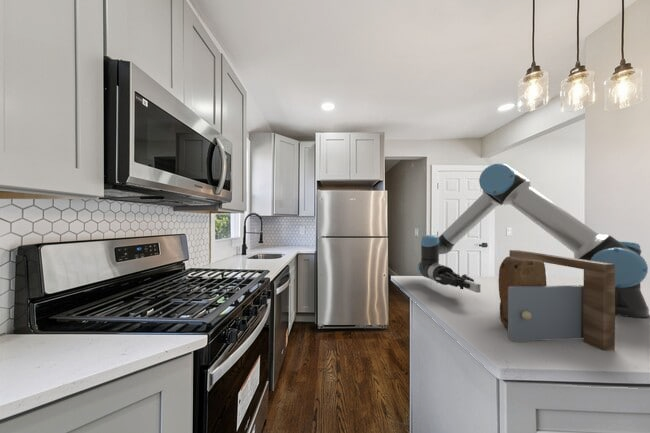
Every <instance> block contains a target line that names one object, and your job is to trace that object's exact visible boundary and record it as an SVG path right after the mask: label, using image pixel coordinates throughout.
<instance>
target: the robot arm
mask: <svg viewBox="0 0 650 433" xmlns="http://www.w3.org/2000/svg"><path fill="white" fill-rule="evenodd" d="M478 183H479V187H480V188H481V190H482V194H481V195H480V196H479V197H477V199H476V200H475V201H474V202H473V203H472V204H471V205H470V206H469V207H468V208H466V210H465V211H464V212H463V213H462V214H461V215H460V216H458V218H457V219H455V220H454V222H453V223H452V224H450V225H449V226H448V227H447V229H445V230H444V231H443V232H442V234H440V235H439V236H438V235H435V234H434V235H433V234H432V235H431V234H428V235H427V234H425V235H422V236H421V240H420V245H421V247H420V248H421V249H420V252H421V254H420V256H421V257H420V261H419V263H418V264H417V272H418V273H419V274H420V275H421V276H423V277H425V278H427V279H430V280H432V281H433V282H436V284H440V285H442V286H452V287H455V288H458V287H459V289H460V290H465V289H466V290H469V291H471V292H474V293H481V284H480V283H478V282H475V279H473V278H471V277H470V276H468V275H467V274H462V275H460V274H458V273H456V272H454V270H453V269H452V268H451V267H449V266H446V265H443V264H440V255H444V254H445V255H446V254H448V253H450V252H451V251H452V250H453V249H454V246H455V245H456V244H457V243H459V241H460V240H462V239H463V238H464V237H465V236H466V235H467V234H468V233H469V232H470V231H471V230H472V229H474V228H475V227H476V226H477V225H478V224H479V223H480V222H481V221H482V220H483V219H484V218H486V217H487V216H488V215H489V214H490V213H491V212H492V211H493V210H494V209H496V207H498V206H502V205H504V206H506V205H510V206H512V207H514V208H515V209H516V210H517V211H519V212H520V213H522V215H524V216H526V218H528V219H529V220H530V221H532V222H533V223H534V224H536V225H537V226H539V227H540V228H541V229H542V230H543V231H545V232H546V234H549V235H550V236H551V237H553V238H554V239H556V241H558V242H559V243H561V244H562V245H563V246H564V247H566V248H567V249H568V250H570V251H571V252H572V253H573V258H575V259H582V260H589V261H596V262H603V263H610V264H615V316H616V315H617V316H621V317H622V316H623V317H631V318H647V317H649V316H650V310H649V306H648V304H647V302H646V301H645V298H644V295H643V292H642V291H641V283H642V282H643V281H644V280H645V278H646V277H647V274H648V272H649V271H648V268H649V266H648V264H647V261H646V260H645V258H644V257H643V256H642V255H641V254H642V249H641V245H640V244H639V243H637V242H632V241H620V240H618V239H616V238H614V237H613V236H612V235H609V234H599V233H598V232H596V231H595V230H593V229H592V228H590V227H589V226H587V225H586V224H584V222H582V221H580V220H579V219H578V218H577V217H574V216H573V215H572V214H570V213H569V212H568V211H566V210H565V209H563V208H562V207H561V206H559V205H558V204H556V203H554V202H553V201H551V200H550V199H549V198H548V197H546V196H545V195H543V194H542V193H540V192H539V191H537V190H536V189H535V188H533V187H531V180H529V179H528V178H527V177H526V176H524V175H522V173H519V171H517V170H515V169H514V168H512V166H510V165H508V164H506V163H493V164H490V165H489V166H487V167H486V168H484V169H483V170H482V172H481V174H480V176H479V179H478Z"/></svg>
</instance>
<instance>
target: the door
mask: <svg viewBox="0 0 650 433" xmlns="http://www.w3.org/2000/svg"><path fill="white" fill-rule="evenodd" d="M583 306H584V284H582V285H581V284H580V285H579V284H578V285H576V284H575V285H571V284H570V285H547V286H511V287H508V329H507V339H508V340H509V341H511V342H517V341H518V342H520V341H521V342H523V341H541V340H545V341H546V340H547V341H548V340H567V339H568V340H571V339H572V340H573V339H583Z"/></svg>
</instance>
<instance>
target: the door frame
mask: <svg viewBox="0 0 650 433" xmlns="http://www.w3.org/2000/svg"><path fill="white" fill-rule="evenodd" d="M508 255H509V256H508V257H513V256H523V257H531V258H534V259H537V260H542V261H543V262H544V264H545V263H546V264H550V265H557V266H563V267H568V268H575V269H579V270H583V285H584V306H583V338H582V339H583V343H585V344H587V345H590V346H592V347H594V348H596V349H599V350H601V351H616V315H615V264H610V263H603V262H596V261H589V260H582V259H575V258H574V257H567V256H562V255H560V256H559V255H553V254H546V253H540V252H539V253H538V252H535V251H534V252H533V251H532V252H531V251H525V250H518V249H512V250H510V249H509V254H508Z"/></svg>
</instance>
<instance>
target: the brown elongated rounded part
mask: <svg viewBox="0 0 650 433" xmlns="http://www.w3.org/2000/svg"><path fill="white" fill-rule="evenodd" d="M498 271H499V272H498V294H499V295H498V296H499V300H500V302H499V320H500V322H501V324H502V325H503V326H504V327H505V328H506V329H507V330H508V287H511V286H548V284H547V272H546V265H545V262H543V261H542V260H537V259H534V258H531V257H523V256H513V257H509V256H506V257H505V258H504V259H503V260H502V261H501V263H500V266H499V270H498Z"/></svg>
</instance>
